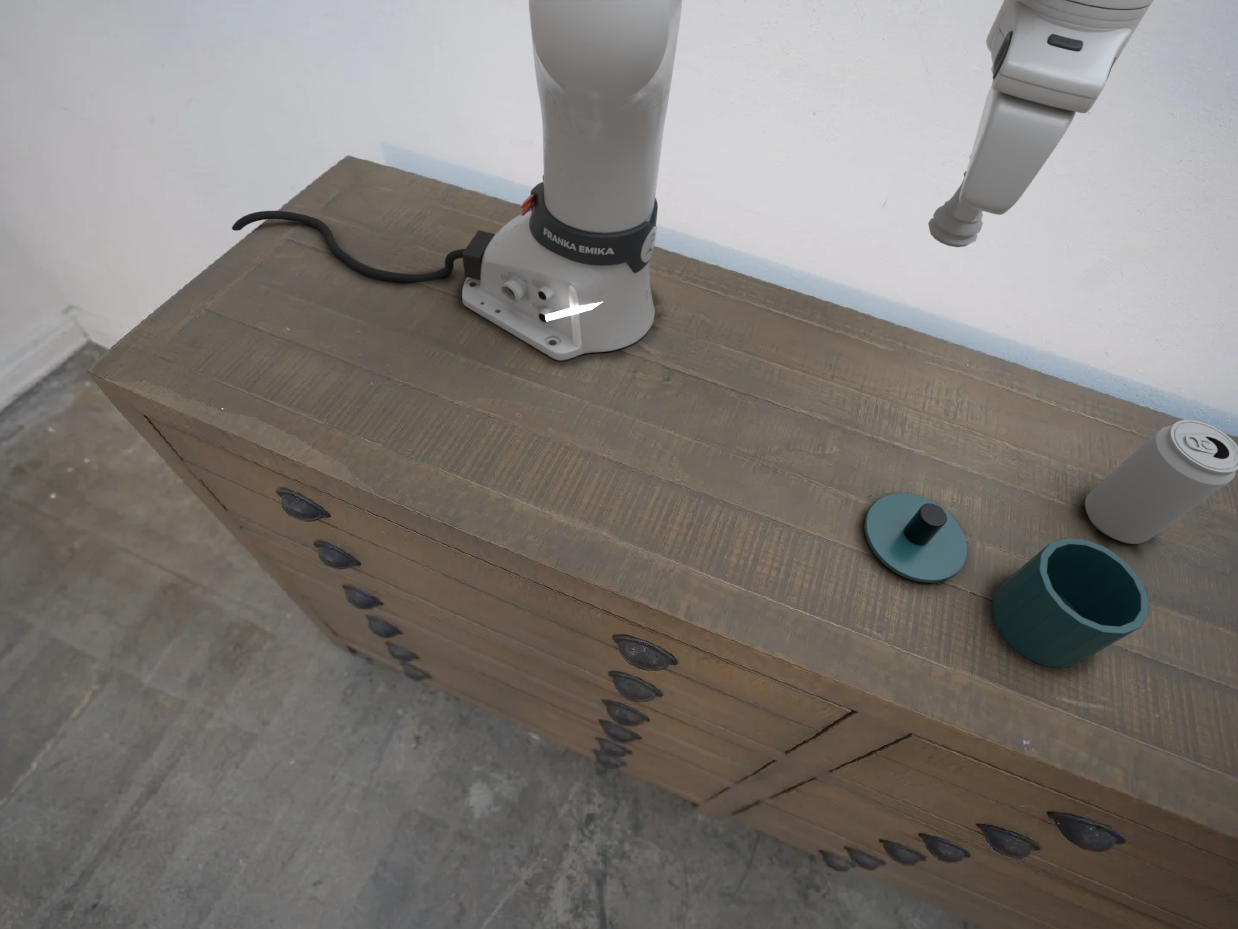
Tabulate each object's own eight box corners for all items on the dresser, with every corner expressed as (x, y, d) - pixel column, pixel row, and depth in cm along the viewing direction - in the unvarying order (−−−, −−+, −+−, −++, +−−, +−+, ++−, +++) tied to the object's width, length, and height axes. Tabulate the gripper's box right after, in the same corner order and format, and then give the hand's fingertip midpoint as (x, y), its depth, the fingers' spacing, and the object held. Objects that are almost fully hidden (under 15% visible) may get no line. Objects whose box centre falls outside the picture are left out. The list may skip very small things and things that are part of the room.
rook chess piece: (975, 227, 63) (1022, 144, 57) (974, 254, 61) (1023, 170, 54) (927, 215, 64) (968, 131, 57) (924, 241, 61) (966, 156, 55)
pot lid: (852, 559, 62) (870, 534, 58) (873, 485, 67) (891, 457, 63) (954, 602, 60) (980, 578, 56) (968, 522, 65) (992, 495, 61)
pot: (986, 642, 58) (1036, 604, 52) (997, 565, 62) (1043, 523, 56) (1086, 684, 56) (1149, 651, 50) (1089, 603, 61) (1148, 563, 55)
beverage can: (1155, 554, 64) (1261, 482, 55) (1086, 539, 65) (1179, 465, 55) (1139, 499, 68) (1235, 423, 58) (1074, 486, 68) (1158, 408, 59)
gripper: (1025, -25, 55) (947, 141, 66) (1000, 73, 43) (910, 254, 55) (1107, -7, 54) (1013, 159, 65) (1103, 100, 42) (989, 279, 53)
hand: (966, 204), depth 60 cm, fingers closed on rook chess piece, 3 cm apart
